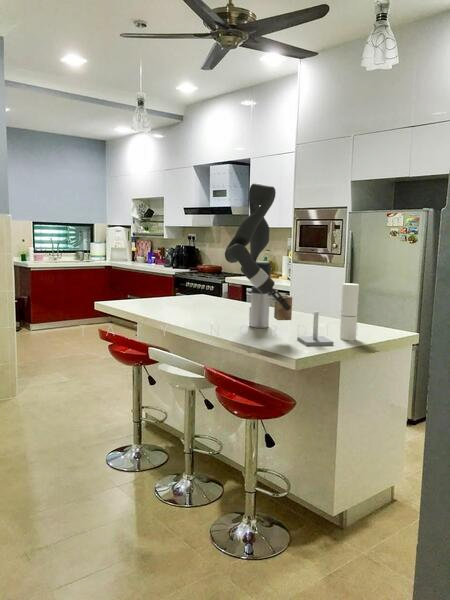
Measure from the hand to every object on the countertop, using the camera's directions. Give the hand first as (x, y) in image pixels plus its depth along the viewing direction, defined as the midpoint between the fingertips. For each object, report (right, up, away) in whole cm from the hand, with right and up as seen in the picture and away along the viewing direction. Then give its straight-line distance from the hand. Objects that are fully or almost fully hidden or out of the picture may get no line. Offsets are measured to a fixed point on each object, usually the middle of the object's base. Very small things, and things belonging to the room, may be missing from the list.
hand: (286, 307), depth 213 cm
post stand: (+12, -15, 0) cm, 19 cm away
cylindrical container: (+29, -14, +9) cm, 34 cm away
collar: (-2, -5, 0) cm, 5 cm away
